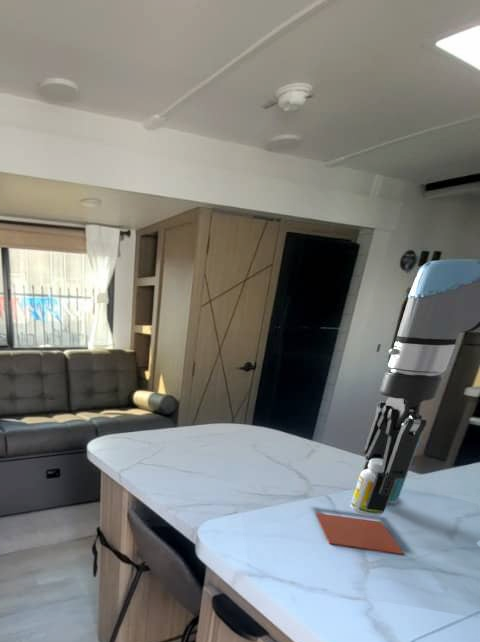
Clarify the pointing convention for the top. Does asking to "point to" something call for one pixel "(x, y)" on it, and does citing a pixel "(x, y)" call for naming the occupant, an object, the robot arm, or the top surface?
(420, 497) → the top surface
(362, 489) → the supplement bottle
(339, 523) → the cloth
